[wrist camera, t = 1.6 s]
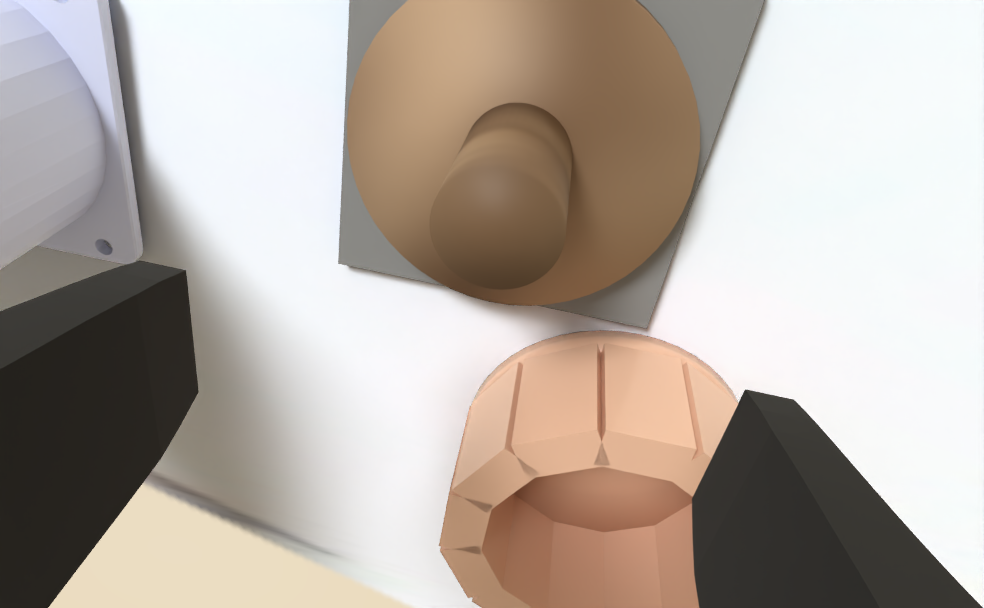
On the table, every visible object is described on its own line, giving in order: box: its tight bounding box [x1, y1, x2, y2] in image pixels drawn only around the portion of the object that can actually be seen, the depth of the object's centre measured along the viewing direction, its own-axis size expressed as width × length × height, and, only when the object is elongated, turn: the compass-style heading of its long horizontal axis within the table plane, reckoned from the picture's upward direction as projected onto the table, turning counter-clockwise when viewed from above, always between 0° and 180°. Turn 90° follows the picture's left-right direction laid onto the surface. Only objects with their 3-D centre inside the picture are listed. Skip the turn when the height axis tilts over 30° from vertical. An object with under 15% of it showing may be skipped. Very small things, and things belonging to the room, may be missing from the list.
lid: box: [347, 0, 700, 306], centre depth 15 cm, size 8×8×5 cm
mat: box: [338, 0, 764, 328], centre depth 17 cm, size 9×9×1 cm
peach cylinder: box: [439, 330, 738, 608], centre depth 20 cm, size 9×9×4 cm
